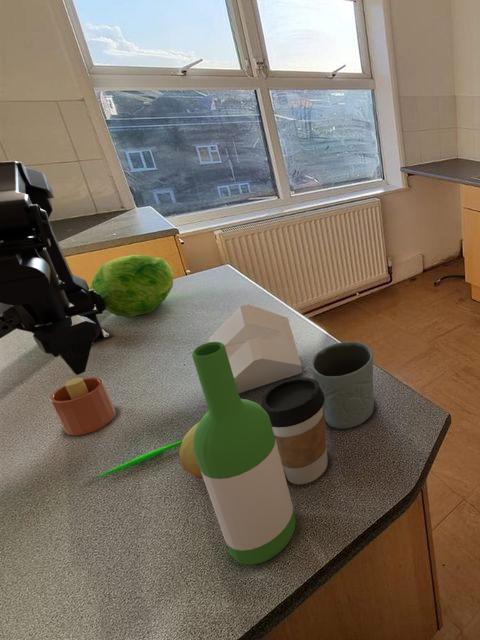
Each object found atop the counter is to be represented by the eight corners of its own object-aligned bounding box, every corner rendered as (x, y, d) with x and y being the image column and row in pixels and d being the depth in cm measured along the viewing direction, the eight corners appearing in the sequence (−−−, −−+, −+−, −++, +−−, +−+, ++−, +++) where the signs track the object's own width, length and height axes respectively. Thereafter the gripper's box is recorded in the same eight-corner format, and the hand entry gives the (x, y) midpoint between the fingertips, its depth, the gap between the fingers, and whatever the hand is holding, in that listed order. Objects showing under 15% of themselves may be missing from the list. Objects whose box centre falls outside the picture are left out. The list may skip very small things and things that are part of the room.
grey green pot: (341, 389, 84) (333, 337, 80) (389, 397, 82) (383, 345, 78) (309, 427, 75) (297, 371, 70) (361, 437, 73) (353, 380, 69)
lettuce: (106, 295, 116) (179, 289, 125) (85, 334, 98) (172, 324, 107) (97, 244, 112) (173, 241, 120) (74, 276, 94) (165, 270, 102)
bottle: (217, 569, 53) (142, 371, 42) (252, 511, 60) (196, 328, 49) (280, 569, 53) (222, 372, 42) (307, 511, 61) (264, 329, 49)
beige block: (226, 404, 85) (210, 373, 71) (215, 354, 89) (198, 315, 75) (302, 379, 92) (300, 346, 78) (289, 334, 96) (285, 295, 83)
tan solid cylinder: (79, 420, 75) (62, 382, 72) (95, 412, 77) (79, 375, 74) (84, 424, 74) (67, 387, 71) (101, 416, 76) (84, 380, 73)
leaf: (90, 480, 64) (88, 476, 64) (201, 433, 73) (200, 430, 73) (90, 484, 64) (88, 480, 63) (202, 437, 72) (201, 433, 72)
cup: (59, 426, 74) (43, 393, 72) (106, 403, 80) (93, 372, 77) (74, 441, 71) (58, 408, 69) (122, 416, 77) (109, 385, 74)
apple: (274, 448, 71) (264, 410, 68) (219, 498, 62) (205, 457, 59) (229, 433, 74) (218, 395, 71) (171, 478, 65) (155, 438, 62)
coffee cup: (315, 497, 63) (297, 416, 57) (264, 486, 64) (242, 407, 58) (346, 452, 70) (333, 377, 65) (300, 443, 72) (284, 369, 66)
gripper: (-67, 285, 64) (-20, 371, 70) (-31, 320, 55) (19, 414, 61) (37, 260, 73) (71, 339, 79) (82, 287, 64) (116, 372, 70)
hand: (69, 364), depth 72 cm, fingers open, 9 cm apart
